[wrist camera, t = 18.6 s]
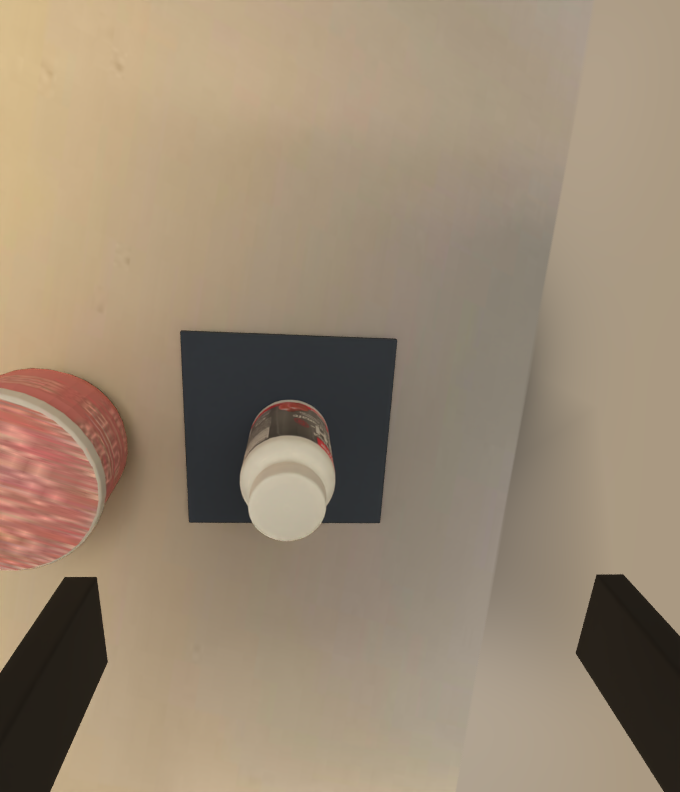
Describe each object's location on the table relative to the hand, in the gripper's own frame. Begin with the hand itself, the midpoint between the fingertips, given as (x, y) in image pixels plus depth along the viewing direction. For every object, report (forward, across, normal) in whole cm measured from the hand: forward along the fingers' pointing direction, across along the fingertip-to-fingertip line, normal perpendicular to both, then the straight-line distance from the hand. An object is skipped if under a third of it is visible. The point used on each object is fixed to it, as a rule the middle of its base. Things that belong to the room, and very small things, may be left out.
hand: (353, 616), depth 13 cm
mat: (+22, -2, -4) cm, 22 cm away
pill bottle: (+21, -2, -4) cm, 22 cm away
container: (+22, -17, -4) cm, 28 cm away
